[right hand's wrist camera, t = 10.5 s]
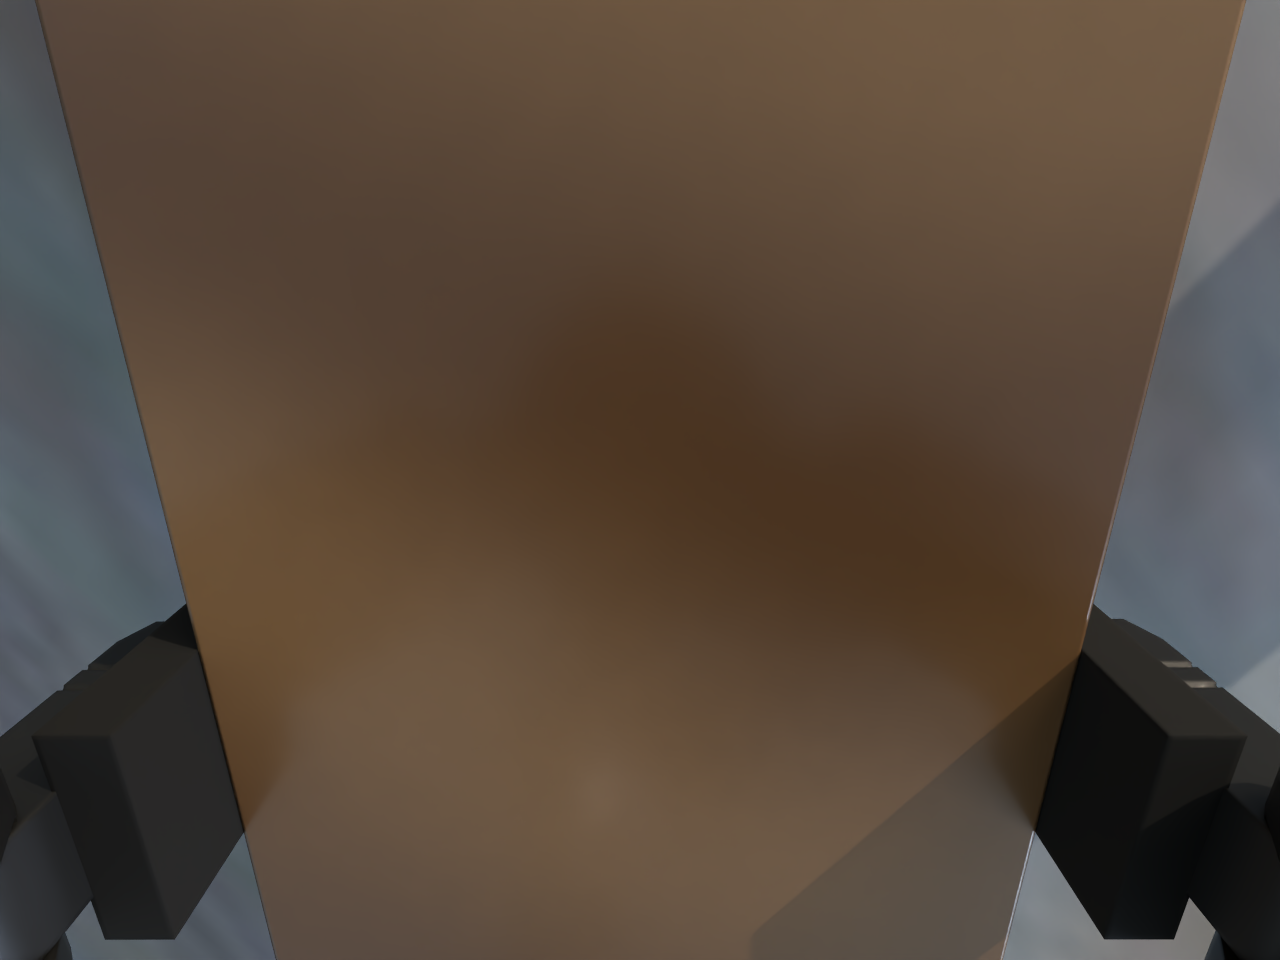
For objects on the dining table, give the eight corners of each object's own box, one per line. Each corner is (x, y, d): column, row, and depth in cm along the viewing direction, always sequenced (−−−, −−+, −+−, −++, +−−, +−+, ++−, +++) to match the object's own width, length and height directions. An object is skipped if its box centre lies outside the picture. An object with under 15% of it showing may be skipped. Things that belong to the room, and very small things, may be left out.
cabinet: (332, -343, 12) (-387, -1645, 3) (949, -342, 12) (1673, -1649, 3) (441, 641, 18) (279, 988, 10) (837, 641, 18) (998, 988, 10)
